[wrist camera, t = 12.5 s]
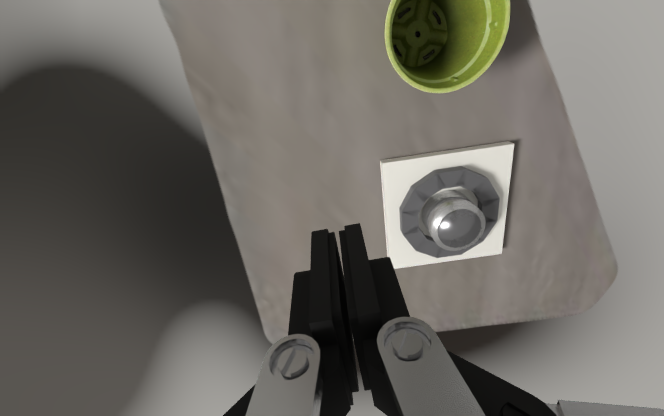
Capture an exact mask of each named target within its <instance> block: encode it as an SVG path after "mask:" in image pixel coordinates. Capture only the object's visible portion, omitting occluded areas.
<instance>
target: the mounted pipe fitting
mask: <svg viewBox="0 0 664 416" xmlns="http://www.w3.org/2000/svg"><path fill="white" fill-rule="evenodd" d="M513 151H514V143H511V142H509V141H506V142H500V143H493V144H486V145H479V146H473V147H466V148H459V149H453V150H446V151H439V152H432V153H426V154H419V155H412V156H405V157H399V158H392V159H385V160H380V167H381V180H382V193H383V206H384V219H385V232H386V244H387V257H390V259H391V262H392V265H393V268H394V269H396V268H403V267H410V266H418V265H425V264H432V263H439V262H446V261H453V260H461V259H468V258H475V257H482V256H489V255H496V254H502V247H503V238H504V229H505V220H506V212H507V203H508V194H509V186H510V177H511V168H512V160H513ZM445 190H455V191H459V192H461V193H462V194H464V195H465V196H466V197H467V198H468V199H469V200H470V201H471V202H472V203H473V204H474V205H475V206H476V207H478V208H479V209H480V210H481V211H482V213H483V214H484V217H485V221H486V224H485V229H484V232H483V234H482V236H481V237H480V238H479V240H478V241H477V242H476V243H474V244H473V245H471V246H470V247H468V248H465V249H463V250H458V251H449V250H445V249H443V248H441V247H439V246H438V245H437V244H436V243H435V241H434V240H433V238H432V236H431V235H430V233H429V232H428V230H427V228H426V227H425V225H424V224H423V221H422V209H423V207H424V205H425V203H426V202H427V201H428V199H429V198H431V197H432V196H433V195H435V194H436V193H438V192H441V191H445Z"/></svg>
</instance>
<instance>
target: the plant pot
mask: <svg viewBox="0 0 664 416" xmlns="http://www.w3.org/2000/svg"><path fill="white" fill-rule="evenodd" d="M406 8H411V10H410V11H409V12H407V13H406V14H404V15H403V16H402V18H401V19H399V18H398V16H399V14H400V13H401V12H402V11H404V10H405V9H406ZM433 11H436V13H437V14H438V16H439V17H440V19H441V24H438V22H437V20H436V18H435V16H434V15H433V14H432V13H433ZM509 22H510V0H391V2H390V5H389V8H388V11H387V15H386V21H385V45H386V50H387V54H388V57H389V59H390V62H391V64H392V66H393V67H394V69H395V71H396V72H397V73H398V74H399V76H400V77H401V78H402V79H403V80H404V81H406V82H407V83H408V84H410V85H411V86H413V87H415V88H417V89H419V90H422V91H425V92H430V93H448V92H452V91H455V90H458V89H461V88H463V87H465V86H467V85H469V84H470V83H472V82H473V81H475V80H476V79H477V78H478V77H480V76H481V75H482V74H483V73H484V72H485V71H486V70H487V69H488V68H489V67H490V65H491V64H492V63H493V61H494V60H495V58H496V57H497V55H498V53H499V52H500V50H501V48H502V45H503V43H504V41H505V38H506V35H507V32H508V28H509ZM417 31H419V32H420V36H419V37H416V36H415V33H416V32H417ZM394 45H396V47H397V49H398V50H399V52H400V53H401V54H402V57H399V56H398V55H397V53H396V52H395V51H394V49H393V47H394ZM433 49H434V52H433V54H432V55H431V56H430V57H429V58H427V59H426V60H423V57H424V56H426V55H427V54H429V53H430V52H431V51H432V50H433Z"/></svg>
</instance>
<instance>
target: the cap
mask: <svg viewBox="0 0 664 416" xmlns="http://www.w3.org/2000/svg"><path fill="white" fill-rule="evenodd" d="M422 221H423V224H424V225H425V227H426V228H427V230H428V232H429V233H430V235H431V236H432V238H433V240H434V241H435V243H436V244H437V245H438V246H439V247H441V248H443V249H445V250H449V251H458V250H463V249H465V248H468V247H470V246H471V245H473V244H474V243H476V242H477V241H478V240H479V238H480V237H481V236H482V234H483V232H484V229H485V224H486V221H485V217H484V214H483V213H482V211H481V210H480V209H479V208H478V207H476V206H475V205H474V204H473V203H472V202H471V201H470V200H469V199H468V198H467V197H466V196H465V195H464V194H462V193H461V192H459V191H455V190H445V191H441V192H438V193H436V194H435V195H433V196H432V197H431V198H429V199H428V201H427V202H426V203H425V205H424V207H423V209H422Z"/></svg>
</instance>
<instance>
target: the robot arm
mask: <svg viewBox="0 0 664 416" xmlns="http://www.w3.org/2000/svg"><path fill="white" fill-rule="evenodd" d="M339 236H340V244H341V253H342V262H343V271H344V275H343V271H342V266H341V261H340V256H339V252H338V247H337V242H336V237H335V233H334V232H331V233H329V232H328V229H324V230H319V231H313V232H312V237H311V270H309V271H303V272H297V273H295V274H294V281H293V291H292V301H291V311H290V321H289V331H288V336H286V337H284V338H281V339H280V340H278V341H277V342H276V343H274V344H273V345H272V347H271V348H270V349H269V350H268V352H267V354H266V356H265V358H264V360H263V363H262V366H261V369H260V373H259V376H258V379H257V382H256V384H255V385H254V386H253V387H252V388H251V389H250V390H249V391H248V392H247V393H246V394H245V395H244V396H243V397H242V398H241V399H240V400H239V401H238V402H237V403H236V404H235V405H234V406H232V407H231V408H230V409H229V410H228V412H226V413H225V414H224V415H223V416H346V415H347V413H348V412H349V411H350V409H351V407H350V405H353V397H352V392H358V391H359V387H358V379H357V370H356V362H355V353H354V345H353V339H354V344H355V348H356V353H357V357H358V362H359V367H360V371H361V375H362V380H363V385H364V390H371V392H372V396H373V401H374V406H376V407H377V408H378V409H379V410H381V411H382V412H383V413H385V414H386V415H387V416H664V410H663V409H657V408H646V407H634V406H623V405H611V404H599V403H587V402H575V401H564V400H558V403H557V404H546V403H544V402H542V401H541V400H539V399H538V398H536V397H535V396H533V395H531V394H529V393H528V392H526V391H524V390H522V389H520V388H518V387H516V386H514V385H512V384H510V383H508V382H507V381H505V380H503V379H501V378H499V377H497V376H495V375H493V374H491V373H489V372H487V371H485V370H484V369H481V368H480V367H478V366H476V365H474V364H472V363H470V362H468V361H466V360H464V359H463V358H460V357H459V356H457V355H455V354H453V353H451V352H449V351H447V350H445V348H444V346H443V345H442V343H441V341H440V339H439V338H438V336H437V335H436V333H435V331H434V330H433V329H432V328H431V327H430V325H428V324H427V323H425V322H424V321H422V320H419V319H416V318H414V317H410V315H409V312H408V309H407V306H406V303H405V300H404V298H403V295H402V292H401V289H400V286H399V283H398V280H397V277H396V274H395V271H394V268H393V265H392V262H391V259H390V257H385V258H379V259H374V260H368V256H367V252H366V247H365V243H364V239H363V234H362V230H361V226H360V223H359V224H353V225H347V226H345V230H343V231H339ZM352 334H353V336H352Z"/></svg>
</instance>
